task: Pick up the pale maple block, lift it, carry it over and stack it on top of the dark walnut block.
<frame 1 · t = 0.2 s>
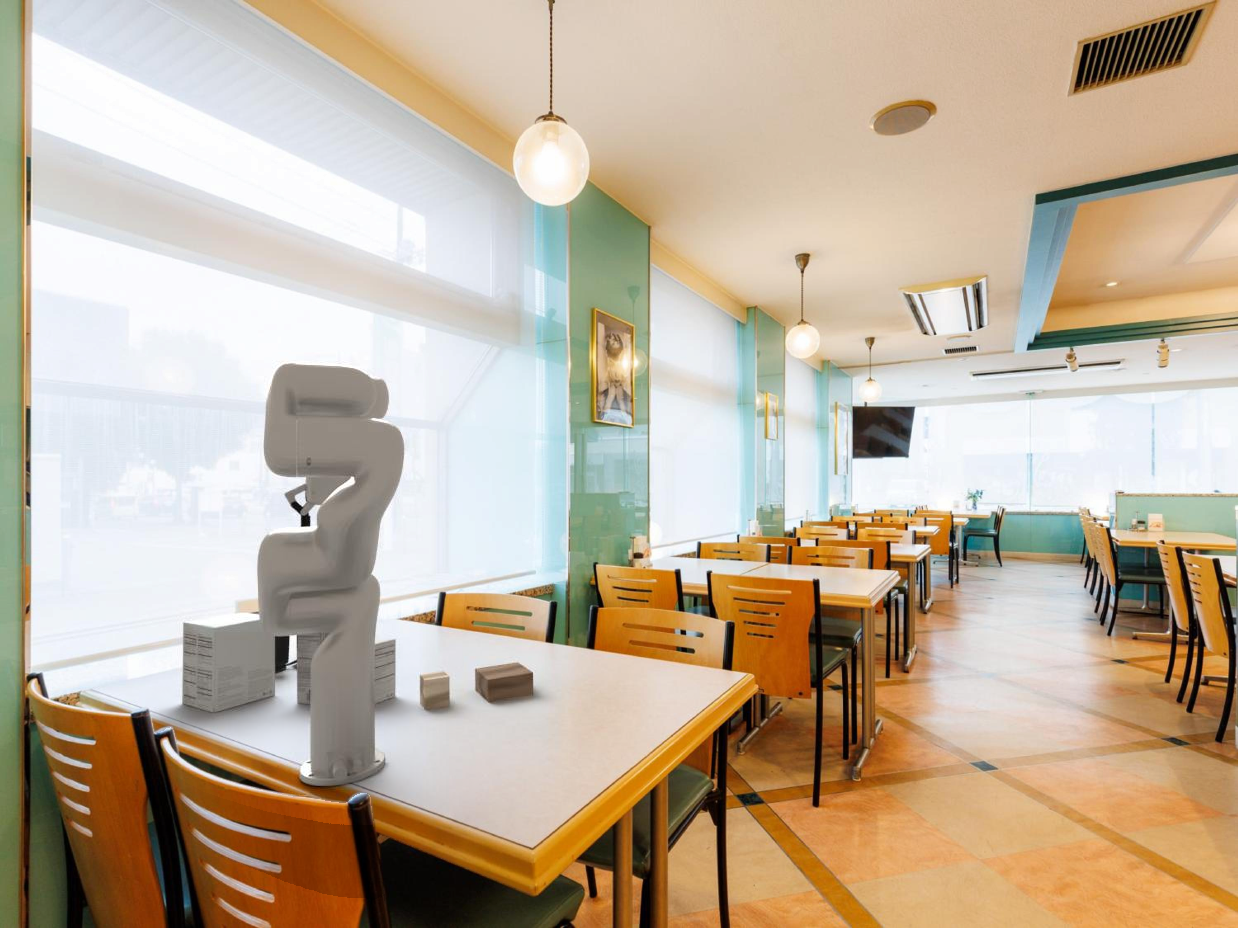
hand: (334, 534, 126), 36 cm above the table, tool pointing down, fingers open, 9 cm apart
supplement box 2: (229, 700, 141), on the table
maple block: (434, 704, 134), on the table
supplement box: (371, 700, 139), on the table
walnut block: (503, 693, 141), on the table
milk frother: (283, 668, 166), on the table
coffee box: (323, 698, 140), on the table
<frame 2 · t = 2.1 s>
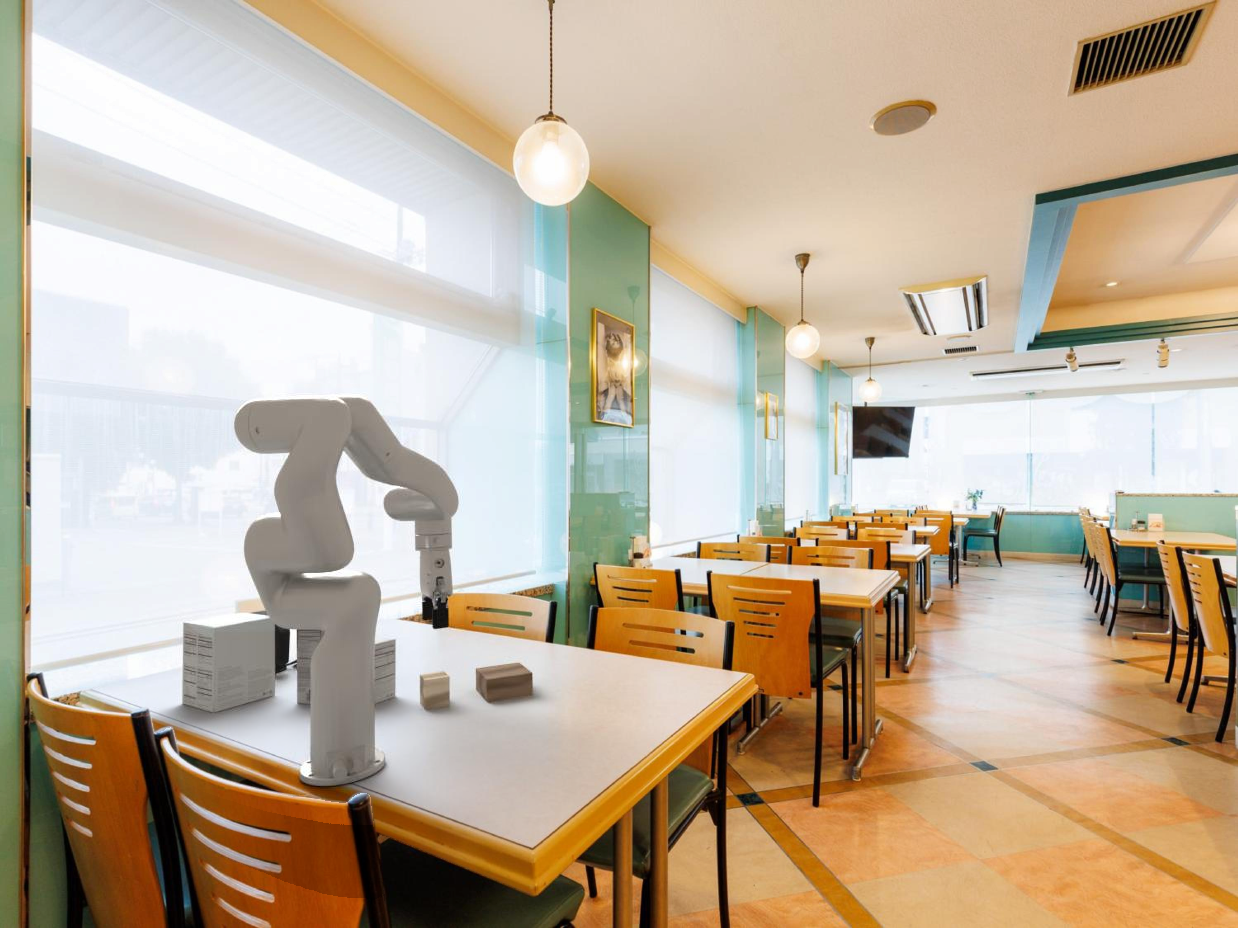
hand: (435, 623, 136), 17 cm above the table, tool pointing down, fingers open, 9 cm apart
nothing on the table moved.
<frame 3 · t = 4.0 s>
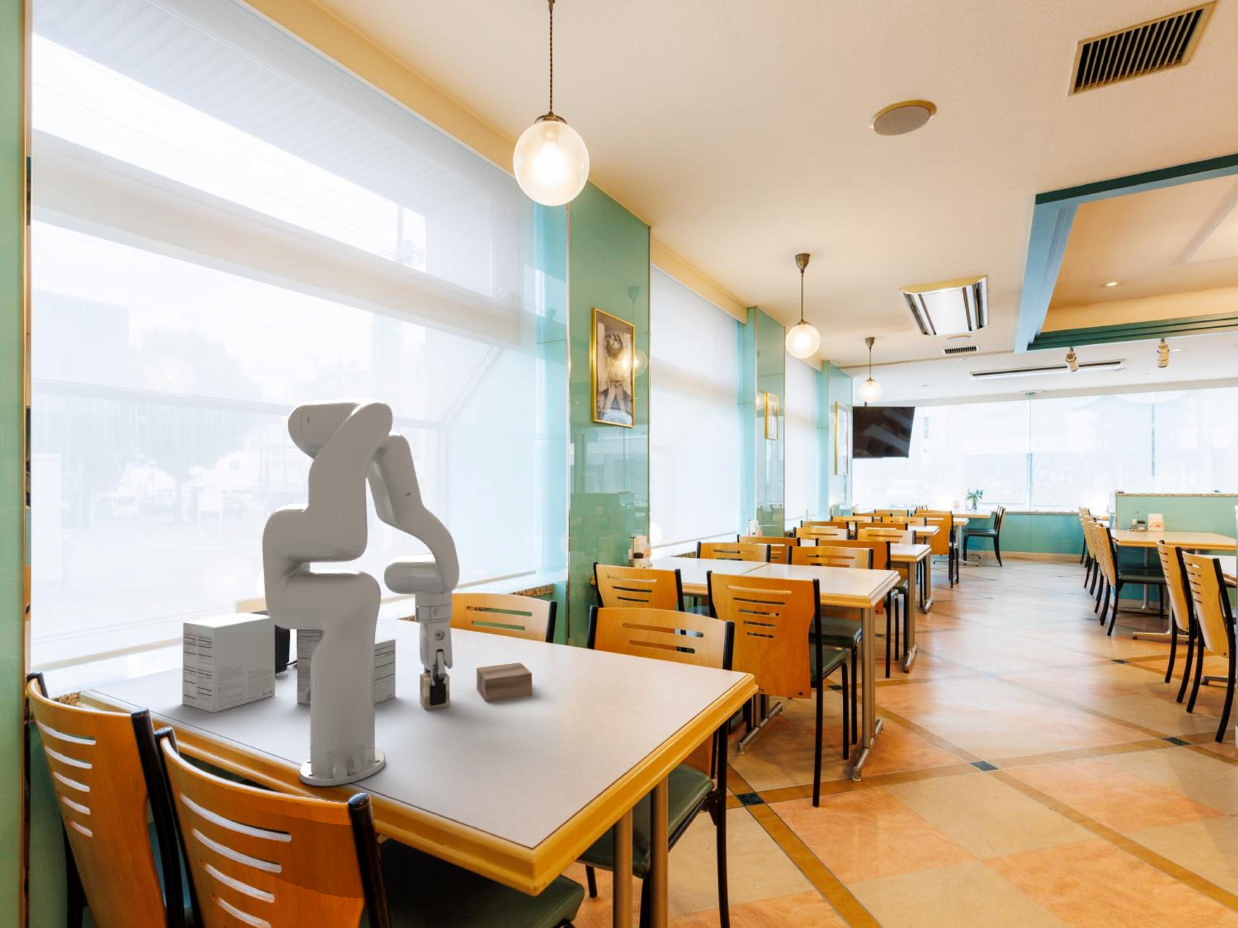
hand: (434, 699, 134), 1 cm above the table, tool pointing down, fingers closed on maple block, 5 cm apart
maple block: (434, 704, 134), on the table, touching gripper
everything else where it was.
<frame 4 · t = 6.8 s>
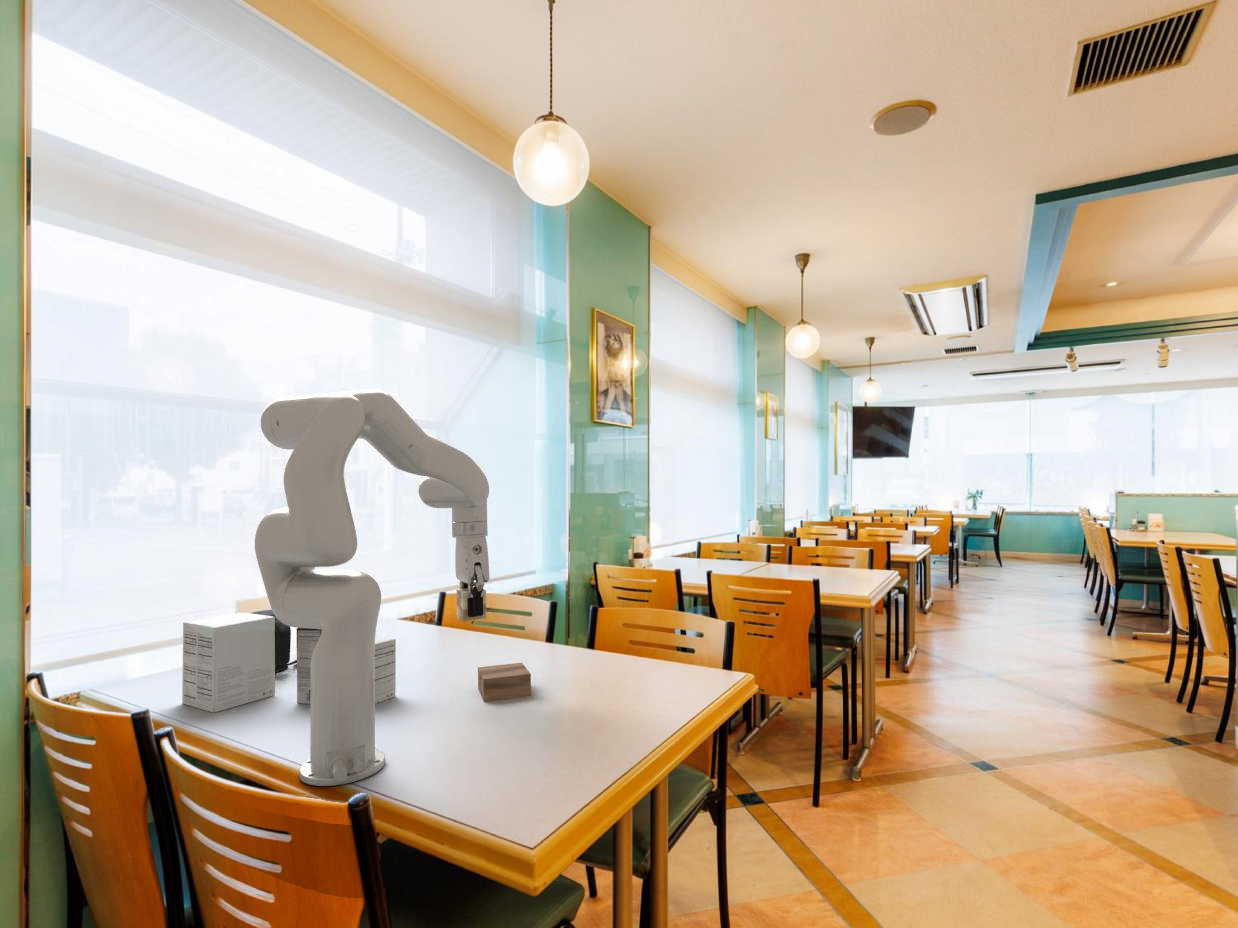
hand: (471, 613, 139), 18 cm above the table, tool pointing down, fingers closed on maple block, 5 cm apart
maple block: (471, 617, 139), point 17 cm above the table, touching gripper
everything else where it was.
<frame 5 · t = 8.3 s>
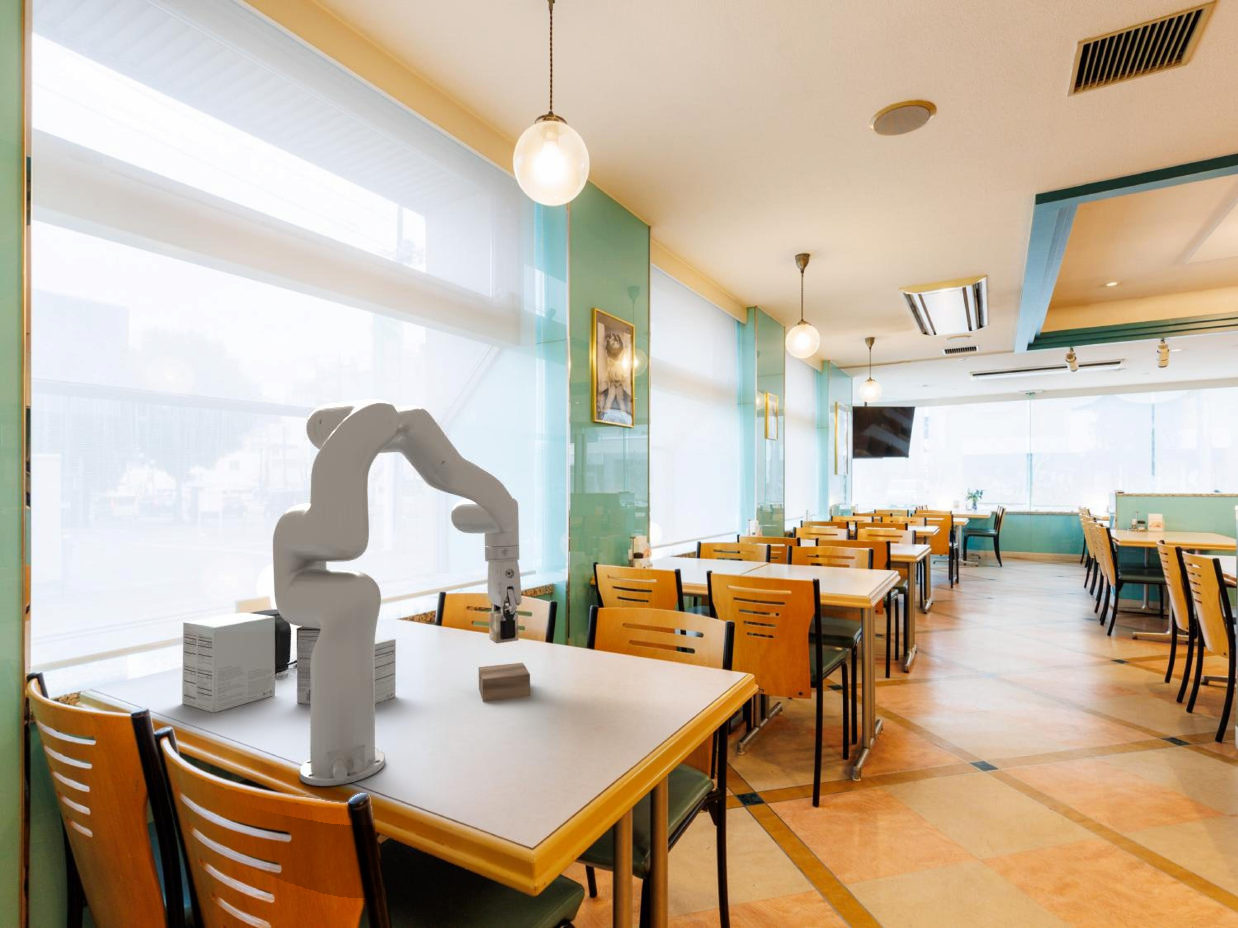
hand: (503, 635, 142), 12 cm above the table, tool pointing down, fingers closed on maple block, 5 cm apart
maple block: (503, 639, 142), point 11 cm above the table, touching gripper
everything else where it was.
when the fingers open (7 cm above the table, at t = 9.5 s): maple block drops 2 cm, point 5 cm above the table.
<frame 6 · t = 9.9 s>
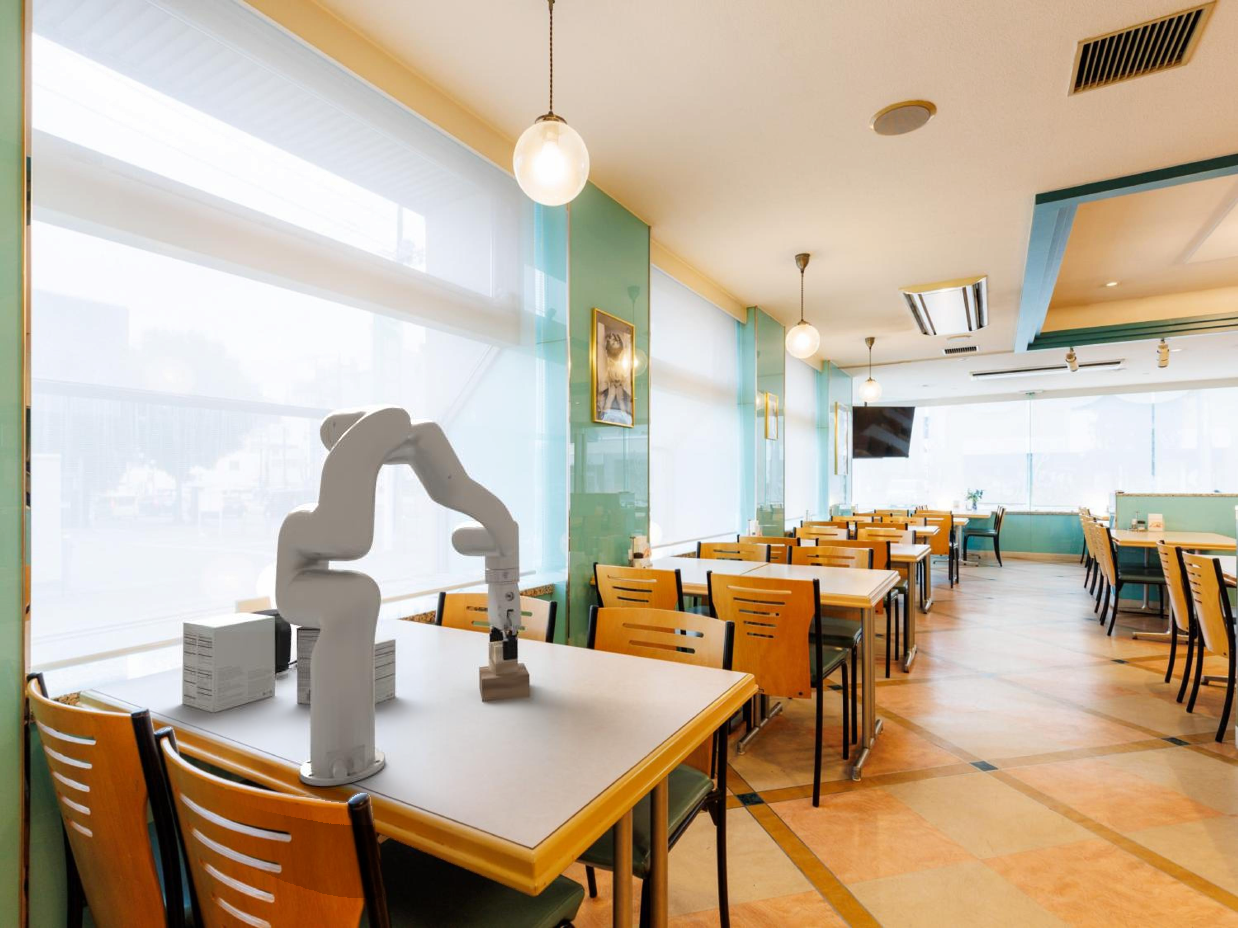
hand: (503, 654, 142), 8 cm above the table, tool pointing down, fingers open, 8 cm apart
maple block: (503, 670, 142), point 5 cm above the table
everything else where it was.
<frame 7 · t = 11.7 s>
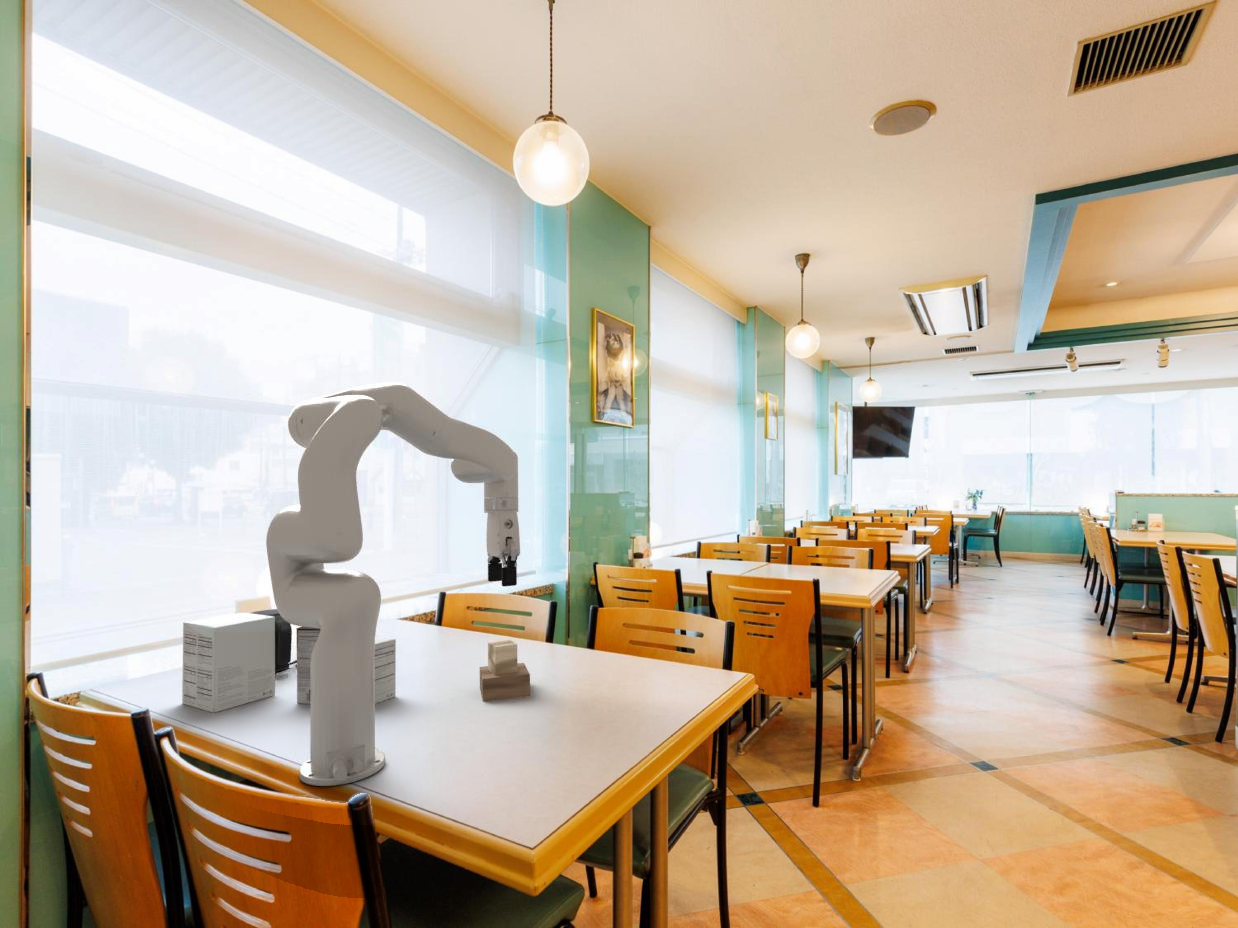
hand: (502, 583, 142), 24 cm above the table, tool pointing down, fingers open, 9 cm apart
nothing on the table moved.
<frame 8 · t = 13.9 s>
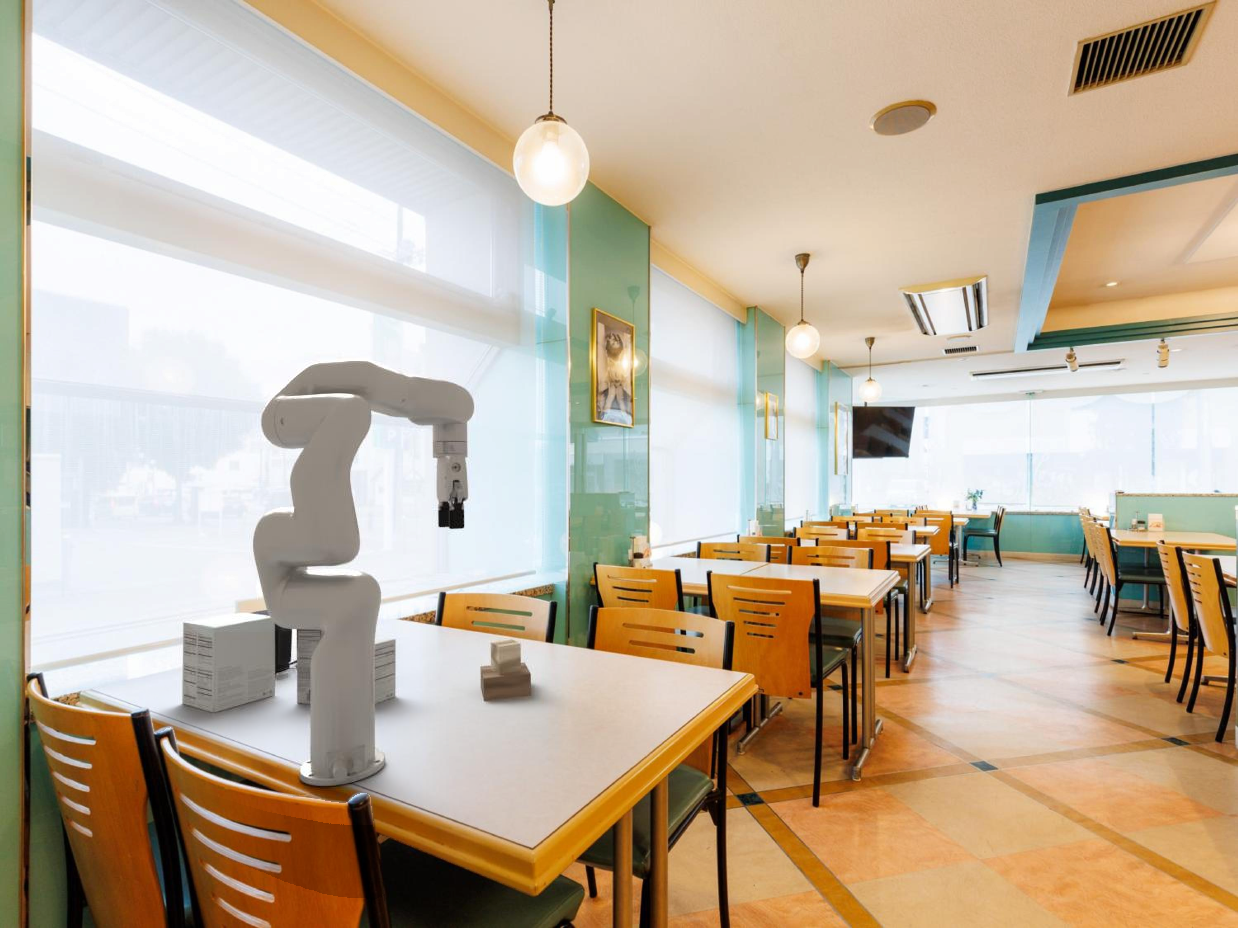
hand: (451, 527, 143), 36 cm above the table, tool pointing down, fingers open, 9 cm apart
at the end: maple block inside the target area on the walnut block (0.3 cm from its centre), point 5.0 cm above the walnut block's base; maple block tilted 0°; maple block touching walnut block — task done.
